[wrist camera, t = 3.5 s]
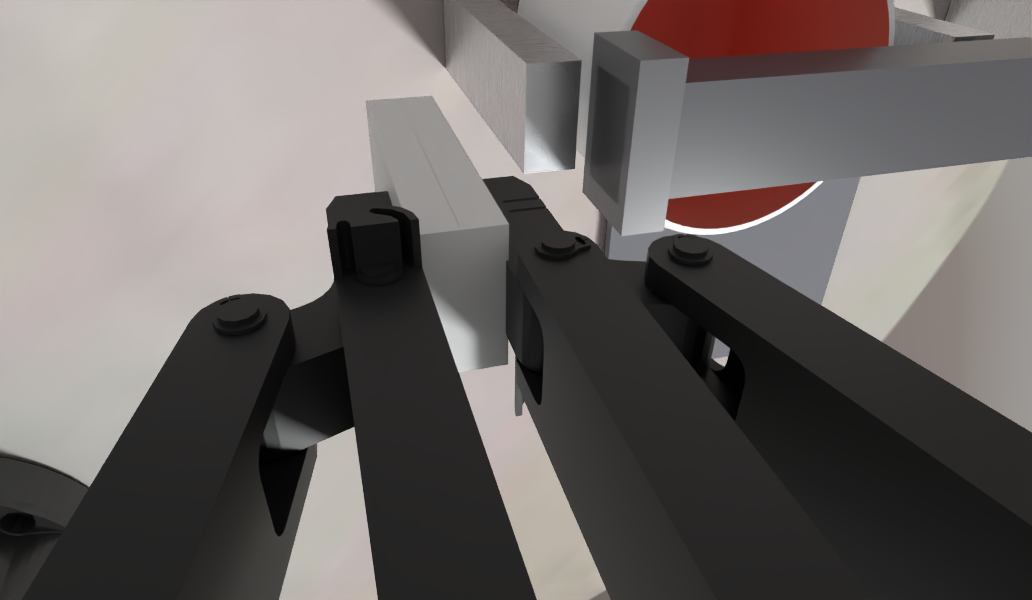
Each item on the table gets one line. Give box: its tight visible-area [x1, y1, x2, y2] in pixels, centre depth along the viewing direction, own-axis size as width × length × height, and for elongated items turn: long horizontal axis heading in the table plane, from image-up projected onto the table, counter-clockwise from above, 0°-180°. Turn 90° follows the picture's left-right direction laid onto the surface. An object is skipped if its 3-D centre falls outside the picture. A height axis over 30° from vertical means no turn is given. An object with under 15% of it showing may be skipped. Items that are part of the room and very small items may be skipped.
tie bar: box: [583, 30, 1032, 236], centre depth 19 cm, size 14×4×3 cm, turn 88°
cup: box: [517, 0, 895, 235], centre depth 25 cm, size 10×10×10 cm
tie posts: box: [443, 0, 1032, 174], centre depth 26 cm, size 26×3×11 cm, turn 88°
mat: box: [604, 177, 860, 359], centre depth 37 cm, size 14×14×1 cm
